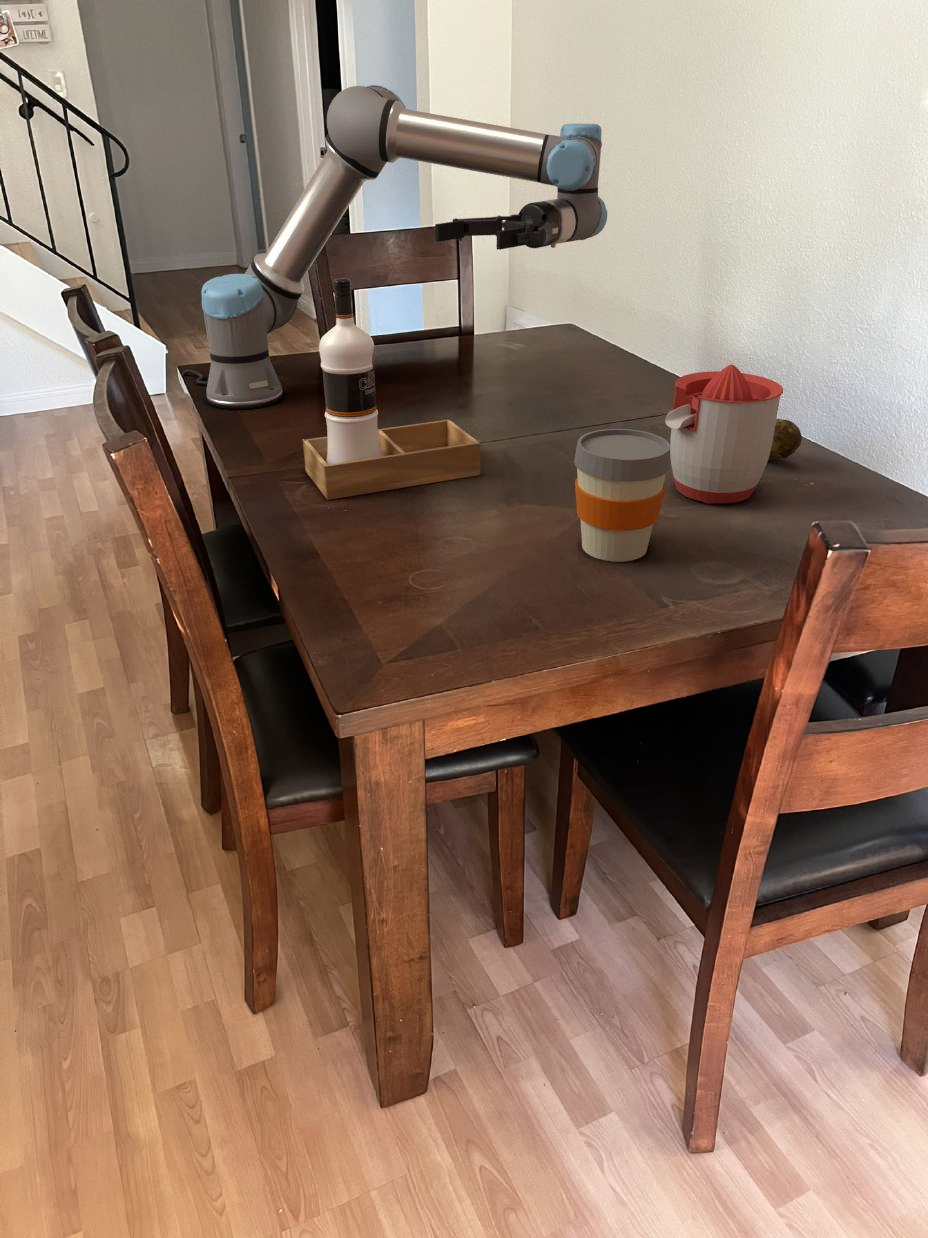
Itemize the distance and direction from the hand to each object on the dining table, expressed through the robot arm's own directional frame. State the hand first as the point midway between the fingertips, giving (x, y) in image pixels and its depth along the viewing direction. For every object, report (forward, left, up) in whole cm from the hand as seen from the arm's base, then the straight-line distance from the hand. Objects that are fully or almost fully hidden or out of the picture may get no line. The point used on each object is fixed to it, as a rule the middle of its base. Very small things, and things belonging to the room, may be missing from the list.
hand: (466, 236), depth 148 cm
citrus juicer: (+41, +24, -34) cm, 58 cm away
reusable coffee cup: (+52, 0, -34) cm, 62 cm away
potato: (+33, +41, -34) cm, 63 cm away
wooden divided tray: (+13, -19, -34) cm, 41 cm away
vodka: (+13, -25, -33) cm, 43 cm away
